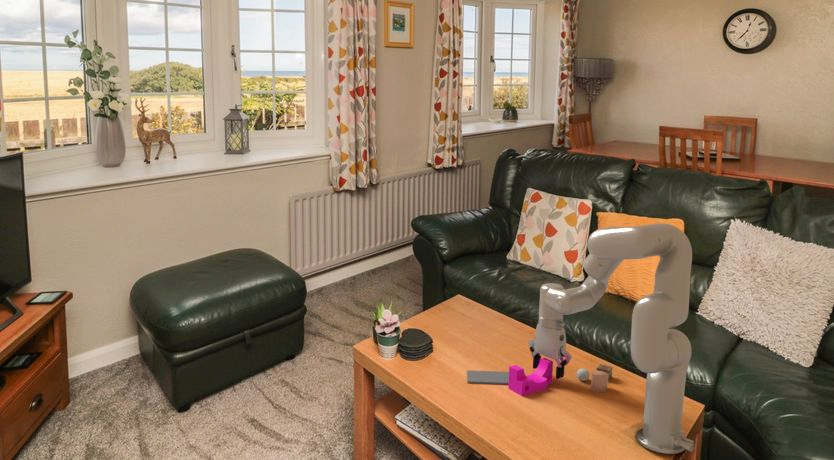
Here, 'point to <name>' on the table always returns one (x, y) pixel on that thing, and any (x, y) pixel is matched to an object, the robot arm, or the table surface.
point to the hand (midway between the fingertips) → (548, 372)
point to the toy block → (531, 378)
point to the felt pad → (488, 377)
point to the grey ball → (583, 374)
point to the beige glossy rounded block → (599, 381)
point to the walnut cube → (605, 370)
